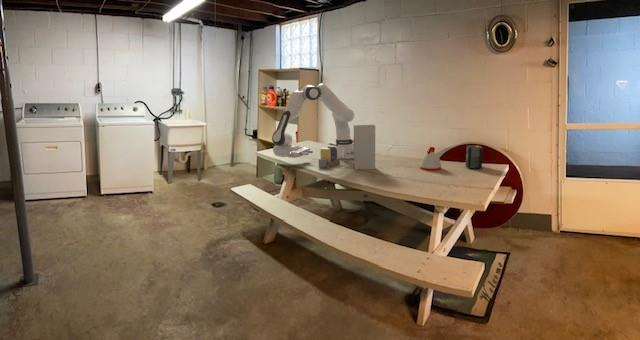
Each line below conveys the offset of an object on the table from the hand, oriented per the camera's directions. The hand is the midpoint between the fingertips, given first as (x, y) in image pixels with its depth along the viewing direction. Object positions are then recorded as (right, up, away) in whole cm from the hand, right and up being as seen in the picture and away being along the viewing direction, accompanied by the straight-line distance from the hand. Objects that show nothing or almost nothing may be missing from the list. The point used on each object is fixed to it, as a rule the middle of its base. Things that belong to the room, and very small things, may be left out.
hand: (310, 152), depth 303 cm
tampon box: (+112, -11, -17) cm, 114 cm away
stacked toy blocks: (+12, -10, -3) cm, 16 cm away
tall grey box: (+38, -11, -13) cm, 42 cm away
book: (+11, -9, -3) cm, 15 cm away
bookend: (+10, -11, -11) cm, 18 cm away
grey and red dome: (+83, -12, -17) cm, 85 cm away
